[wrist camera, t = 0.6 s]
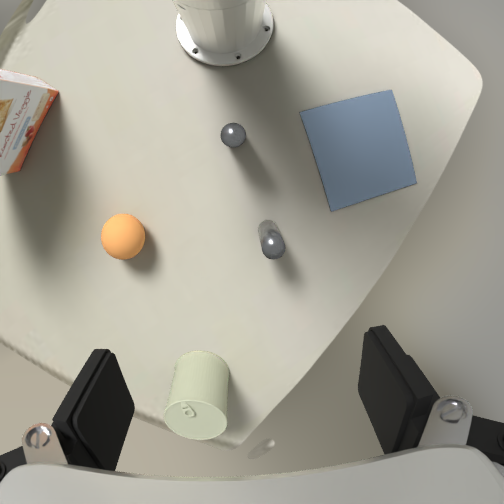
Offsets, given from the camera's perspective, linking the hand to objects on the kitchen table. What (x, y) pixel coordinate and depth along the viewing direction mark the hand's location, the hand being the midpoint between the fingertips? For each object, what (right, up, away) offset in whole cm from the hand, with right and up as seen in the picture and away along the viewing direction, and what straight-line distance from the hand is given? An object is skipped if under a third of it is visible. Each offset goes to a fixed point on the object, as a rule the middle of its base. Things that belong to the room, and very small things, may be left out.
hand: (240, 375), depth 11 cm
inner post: (-2, +19, +28) cm, 34 cm away
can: (-8, -16, +40) cm, 44 cm away
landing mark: (+15, +18, +29) cm, 38 cm away
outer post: (+3, +7, +33) cm, 34 cm away
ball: (-16, +6, +29) cm, 34 cm away
